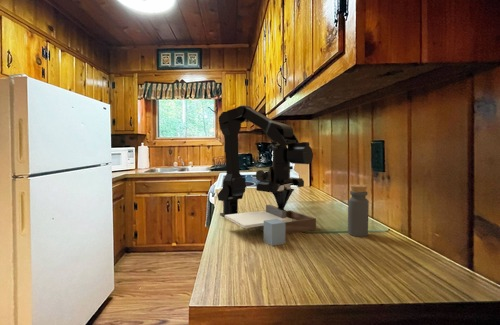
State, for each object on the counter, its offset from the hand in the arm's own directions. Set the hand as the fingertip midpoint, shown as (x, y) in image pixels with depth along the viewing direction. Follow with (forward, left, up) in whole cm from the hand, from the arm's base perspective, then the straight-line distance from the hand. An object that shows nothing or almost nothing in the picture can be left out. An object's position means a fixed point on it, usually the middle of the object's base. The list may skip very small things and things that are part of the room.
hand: (281, 210), depth 99 cm
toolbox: (0, +1, -6) cm, 6 cm away
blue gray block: (+12, -10, -6) cm, 17 cm away
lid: (0, -9, -2) cm, 9 cm away
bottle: (+17, +17, -6) cm, 25 cm away
